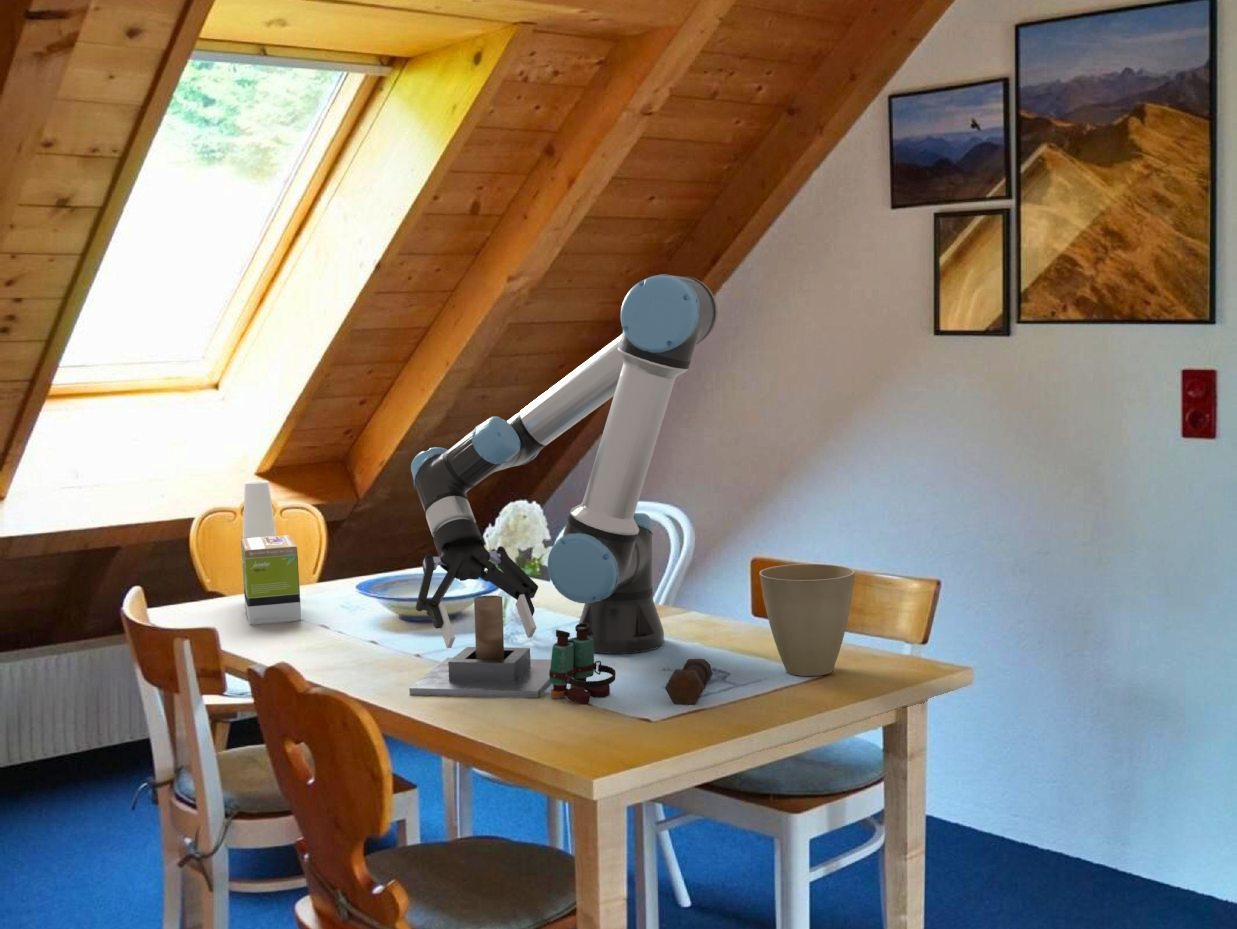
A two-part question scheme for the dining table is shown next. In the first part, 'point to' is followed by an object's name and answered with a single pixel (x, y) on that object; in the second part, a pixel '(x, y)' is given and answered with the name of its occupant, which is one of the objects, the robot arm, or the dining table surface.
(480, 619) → the peg
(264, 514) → the grey tapered column
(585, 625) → the binoculars
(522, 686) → the socket
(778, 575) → the plant pot
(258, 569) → the tea box
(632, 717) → the dining table surface
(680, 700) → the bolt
